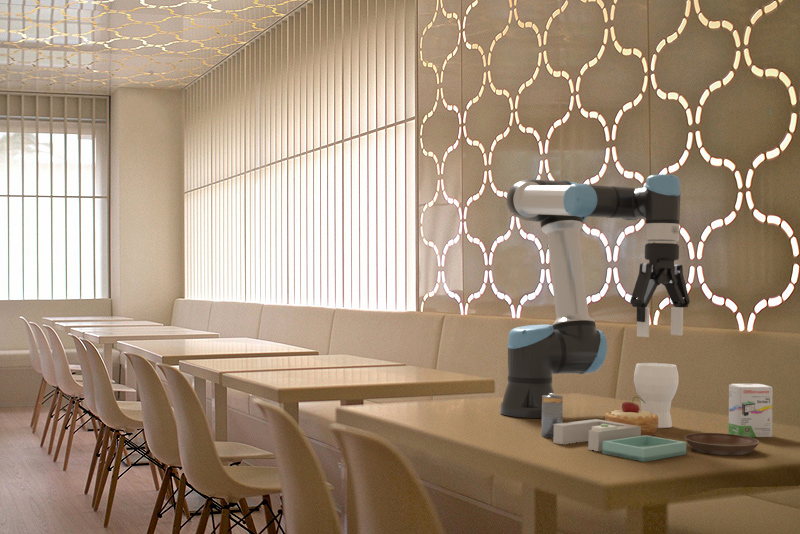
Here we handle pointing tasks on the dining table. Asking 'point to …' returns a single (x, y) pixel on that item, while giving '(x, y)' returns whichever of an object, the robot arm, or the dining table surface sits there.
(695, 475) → the dining table surface
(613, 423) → the white hook bar
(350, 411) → the dining table surface
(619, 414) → the pastry
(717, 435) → the saucer
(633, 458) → the trough
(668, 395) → the cup
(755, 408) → the ink box
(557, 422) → the cell
